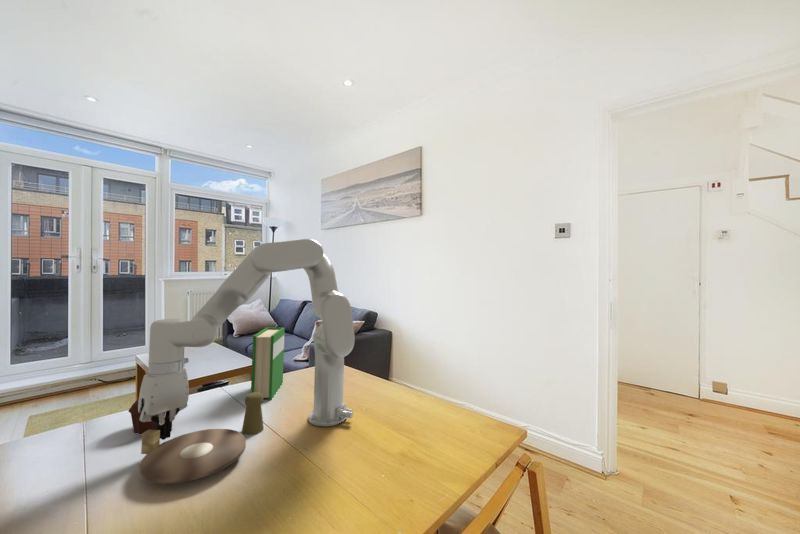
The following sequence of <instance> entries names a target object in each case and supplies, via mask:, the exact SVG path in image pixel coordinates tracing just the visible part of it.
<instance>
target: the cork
mask: <svg viewBox="0 0 800 534" xmlns="http://www.w3.org/2000/svg"><path fill="white" fill-rule="evenodd" d="M243 400H244V401H243V402H244V405H245V411H244V417H243V423H242V428H241V434H242V435H243V436H255V435H257V434H261V432H263V431H264V429H265V427H264V421H263V420H264V419H263V418H264V417H263V409H262V403H263V401H264V398H263V395H262V393H259V392H253V393H251V392H250V393H248V394H247V395H245V397H244V399H243ZM254 434H255V435H254Z"/></svg>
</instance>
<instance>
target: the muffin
mask: <svg viewBox="0 0 800 534" xmlns="http://www.w3.org/2000/svg"><path fill="white" fill-rule="evenodd" d="M138 402H139V398H137V399H136V400H135V401H134V403H133V404H132V405H131V406H130V407H129V409H128V412H129V413H130V416H131V422H132V427H133V433H134V434H137V433H138V434H137V435H139V434H142V433H144V432H146V431H147V430H156V423H155V422H153V421H149V422H141V421H140V420H139V419H140V416H141V413H139V412H138ZM164 415H165V412H164Z"/></svg>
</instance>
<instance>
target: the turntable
mask: <svg viewBox="0 0 800 534" xmlns="http://www.w3.org/2000/svg"><path fill="white" fill-rule="evenodd" d="M160 441H161V439H160V430H147V431H146V432H144V433H142V435H141V453H140V454H141V455H144V457H143V458H142V459H141V461H140V463H139V464H140V465H139V472H140V476H141V477H142V478H143V479H144V480H147V481H148V482H153V483H156V484H178V483H185V482H190V481H194V480H198V479H200V478H201V479H202V478H204V477H207V476H209V475H213V474H215V473H217V472H220V471H222V470H223V469H225V468H226V467H228V466H230V465H232V464H233V463H234V462H236V461H237V460H238V459H239V458H240V457H241V456H242V455H243V454H244V452H245V450H246V443H247V442H246V437H245V435H244V434H242V432H239V431H237V430H234V429H230V428H209V429H202V430H196V431H193V432H192V431H191V432H188V433H184V434H181V435H178V436H175V437H173V438H171V439H168V440H166V441H164V442H162V443H160Z"/></svg>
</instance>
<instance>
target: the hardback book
mask: <svg viewBox="0 0 800 534" xmlns="http://www.w3.org/2000/svg"><path fill="white" fill-rule="evenodd" d="M285 332H286V331H285V327H265V328H264V329H262V330H260V331H258V332H257V333H255V334H253V335H252V353H251V354H252V355H251V356H252V357H251V381H250V383H251V385H250V393H253V392H259V393H262V395H263V399H268V401H272V400H273V399H274V397H275V396H274V395H276V394H277V393H278V391H279V390H280V389H281V387H282V386H283V384H284V383H283V382H284V358H285V357H284V356H285ZM282 383H283V384H282ZM281 385H282V386H281ZM280 386H281V387H280ZM278 389H279V390H278ZM276 392H277V393H276ZM272 398H273V399H272Z"/></svg>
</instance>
